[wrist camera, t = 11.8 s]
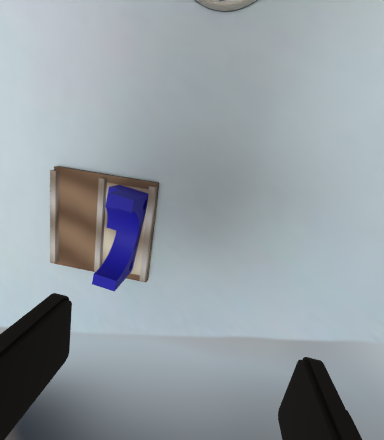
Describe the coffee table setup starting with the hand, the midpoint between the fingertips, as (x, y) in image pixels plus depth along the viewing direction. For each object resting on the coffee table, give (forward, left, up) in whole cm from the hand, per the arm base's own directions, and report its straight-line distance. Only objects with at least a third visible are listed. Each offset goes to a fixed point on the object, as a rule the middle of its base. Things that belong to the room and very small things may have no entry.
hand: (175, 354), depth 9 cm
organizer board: (+4, -15, -25) cm, 29 cm away
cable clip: (+3, -12, -24) cm, 26 cm away
